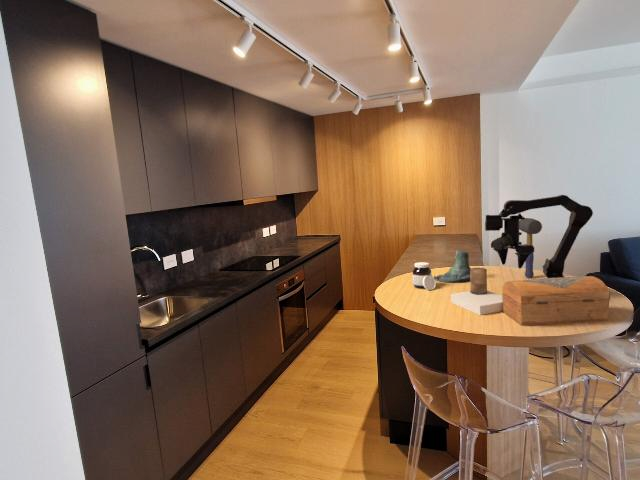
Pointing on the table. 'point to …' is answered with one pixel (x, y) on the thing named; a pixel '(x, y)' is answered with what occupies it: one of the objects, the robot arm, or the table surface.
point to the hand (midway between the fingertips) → (511, 266)
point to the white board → (479, 302)
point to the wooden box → (556, 300)
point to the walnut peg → (478, 281)
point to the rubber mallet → (530, 240)
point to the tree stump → (457, 269)
